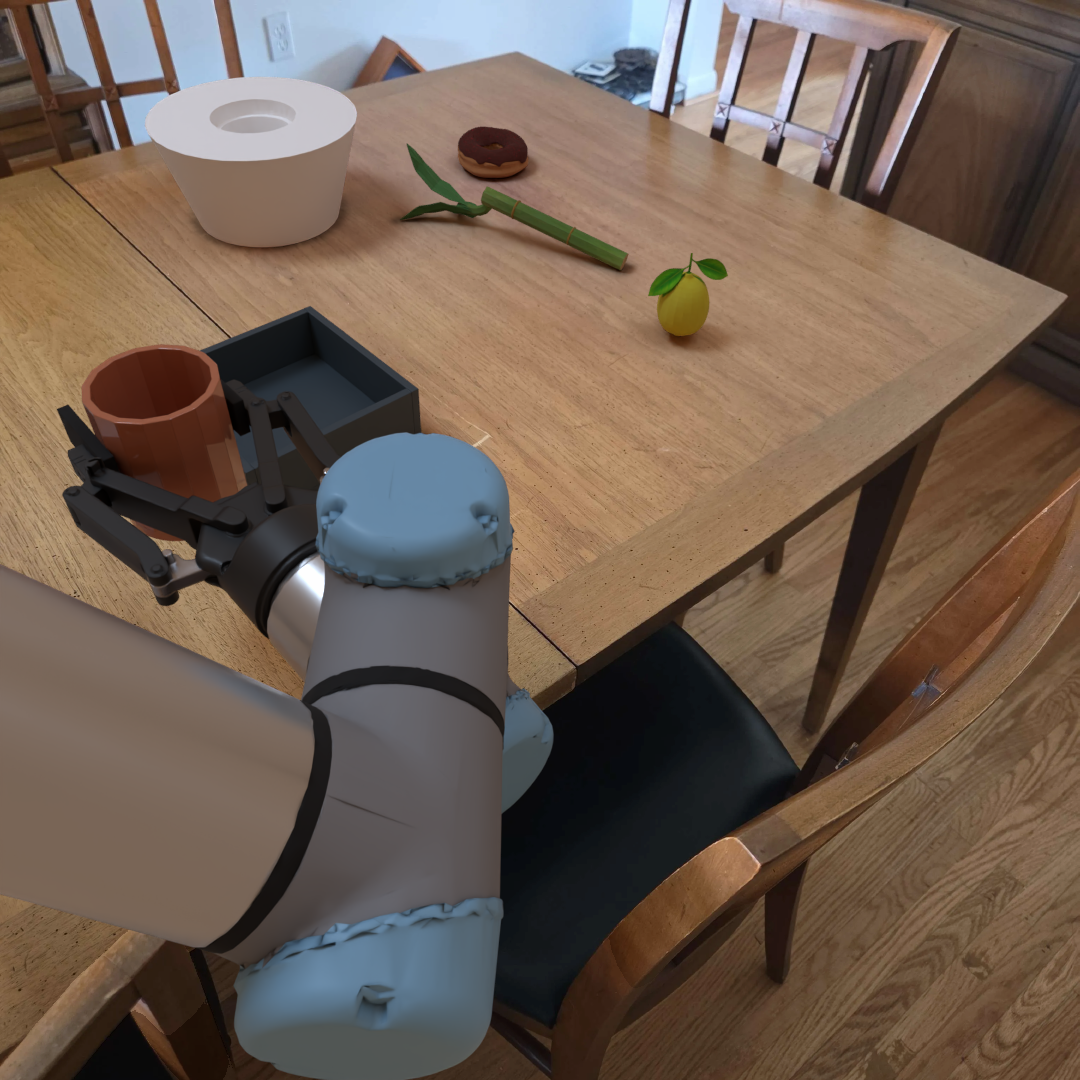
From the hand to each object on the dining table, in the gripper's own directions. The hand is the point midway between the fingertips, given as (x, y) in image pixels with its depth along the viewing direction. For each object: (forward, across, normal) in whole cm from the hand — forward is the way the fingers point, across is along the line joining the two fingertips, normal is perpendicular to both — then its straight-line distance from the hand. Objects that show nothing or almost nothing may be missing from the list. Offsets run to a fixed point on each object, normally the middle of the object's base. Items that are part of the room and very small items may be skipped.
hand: (133, 397), depth 62 cm
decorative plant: (+25, +56, -18) cm, 64 cm away
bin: (+11, +16, -18) cm, 26 cm away
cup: (-5, 0, -6) cm, 8 cm away
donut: (+42, +67, -18) cm, 82 cm away
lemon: (-2, +57, -18) cm, 60 cm away
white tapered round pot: (+49, +36, -18) cm, 64 cm away
